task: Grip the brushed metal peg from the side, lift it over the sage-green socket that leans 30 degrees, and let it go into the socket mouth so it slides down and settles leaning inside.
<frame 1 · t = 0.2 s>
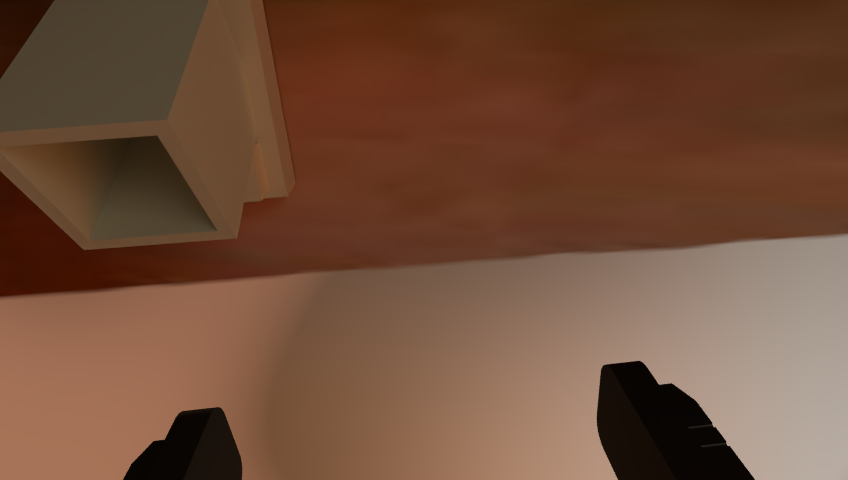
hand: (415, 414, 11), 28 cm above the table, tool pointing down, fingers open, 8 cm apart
socket: (201, 101, 35), on the table
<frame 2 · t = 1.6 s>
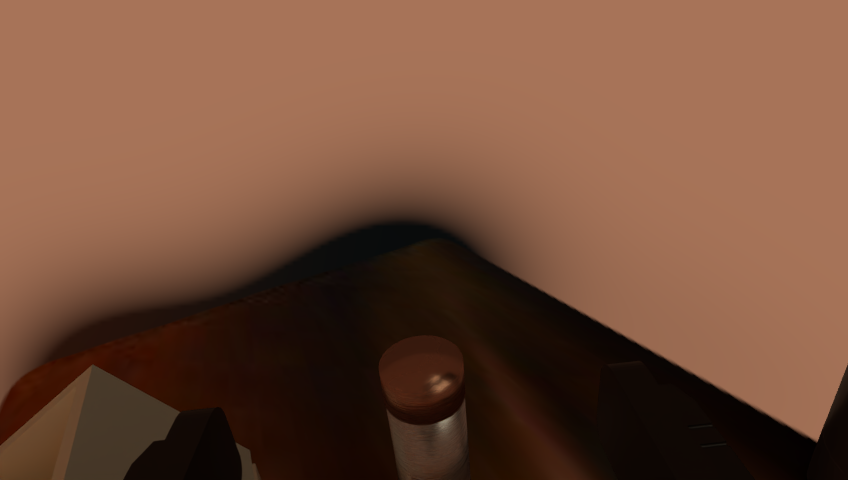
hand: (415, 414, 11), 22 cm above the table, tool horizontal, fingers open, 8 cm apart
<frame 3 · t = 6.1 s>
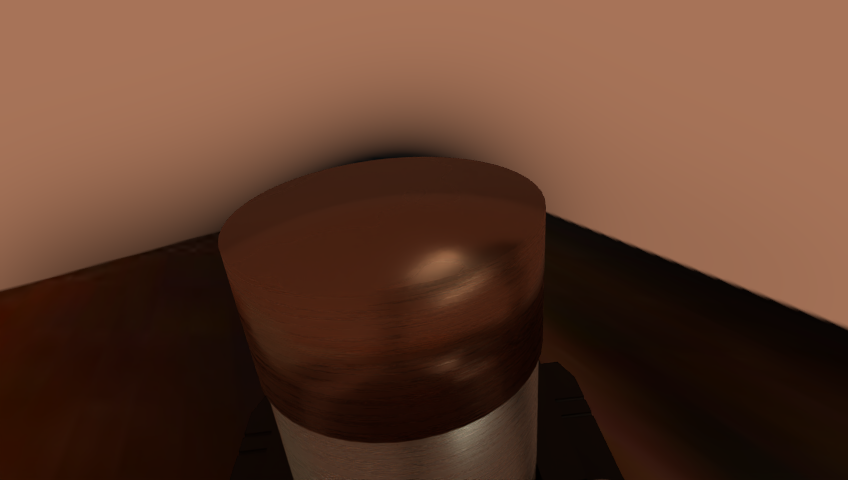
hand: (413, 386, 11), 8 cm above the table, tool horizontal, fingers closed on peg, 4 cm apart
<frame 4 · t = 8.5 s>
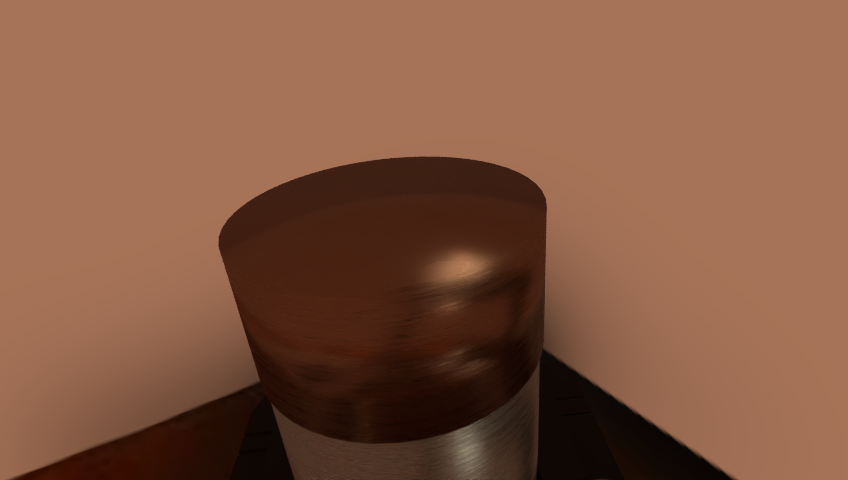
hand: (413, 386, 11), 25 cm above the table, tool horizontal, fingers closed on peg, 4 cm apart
when the fingers open (20 cm above the table, at t = 11.1 s): peg drops 8 cm and tips over, resting on socket.
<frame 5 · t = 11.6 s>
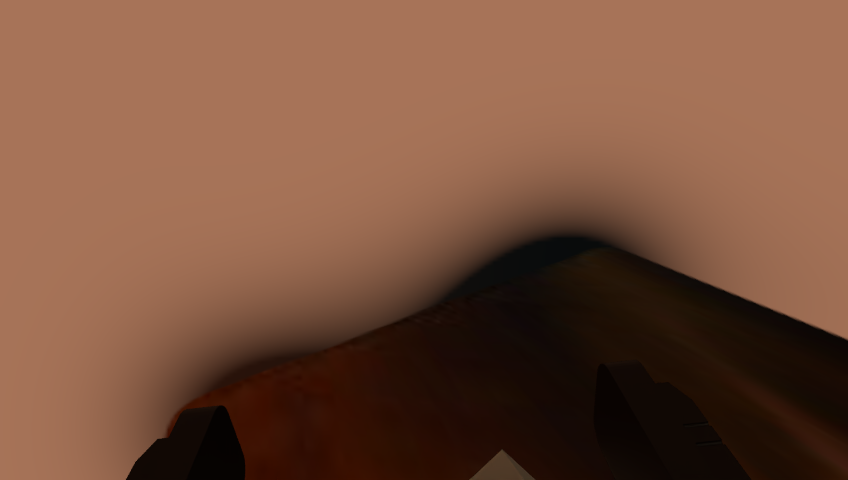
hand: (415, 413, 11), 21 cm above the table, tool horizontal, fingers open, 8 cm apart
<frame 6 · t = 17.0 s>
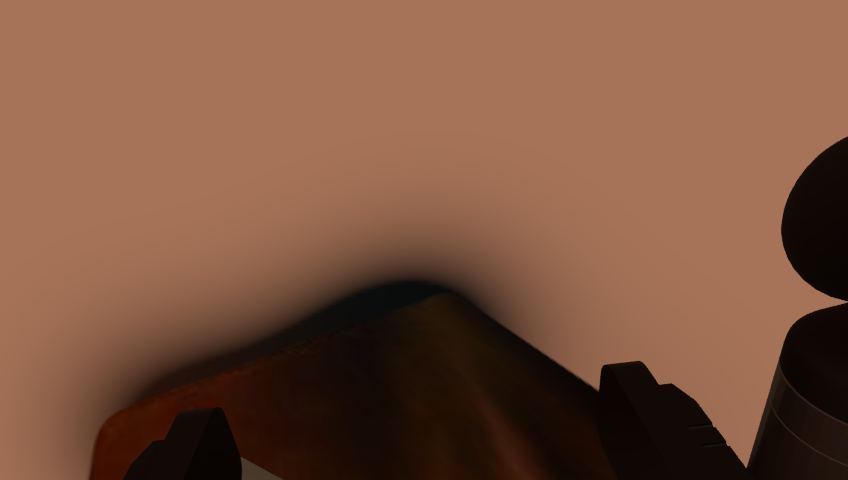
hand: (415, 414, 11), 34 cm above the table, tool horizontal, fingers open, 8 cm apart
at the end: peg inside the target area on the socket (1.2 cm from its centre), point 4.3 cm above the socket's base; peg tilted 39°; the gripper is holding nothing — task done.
